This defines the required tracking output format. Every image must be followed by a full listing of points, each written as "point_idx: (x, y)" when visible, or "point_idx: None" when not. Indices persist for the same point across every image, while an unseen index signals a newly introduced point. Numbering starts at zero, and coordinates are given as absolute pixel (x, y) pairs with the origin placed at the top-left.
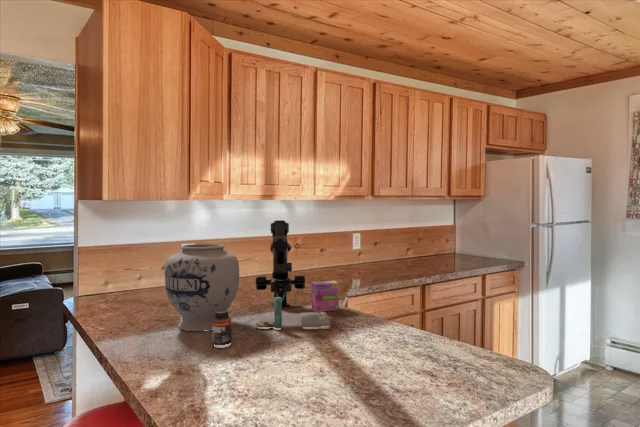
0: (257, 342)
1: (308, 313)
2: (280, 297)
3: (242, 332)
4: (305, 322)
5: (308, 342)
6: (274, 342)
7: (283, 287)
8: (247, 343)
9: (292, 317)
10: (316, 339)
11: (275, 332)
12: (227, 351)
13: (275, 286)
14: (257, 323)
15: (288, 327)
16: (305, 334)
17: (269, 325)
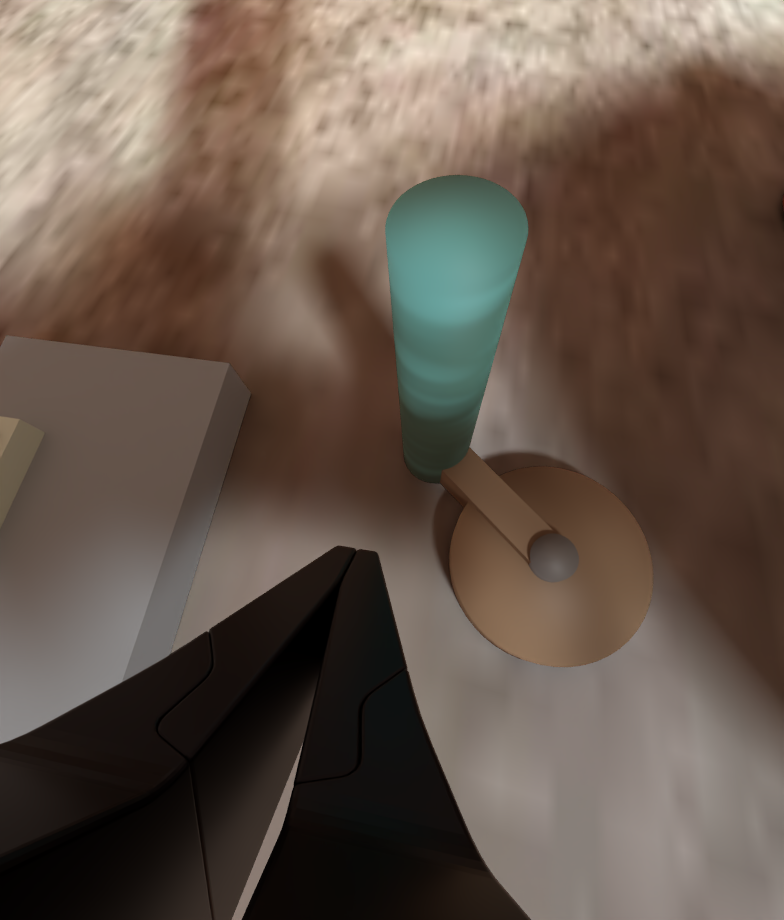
0: (606, 234)
1: (19, 697)
2: (404, 242)
3: (750, 459)
4: (195, 377)
5: (295, 182)
6: None
7: (111, 770)
8: (673, 230)
9: None
10: (232, 214)
11: None
12: (780, 144)
13: (461, 882)
14: (637, 590)
15: (337, 493)
16: (262, 306)
17: (514, 487)
